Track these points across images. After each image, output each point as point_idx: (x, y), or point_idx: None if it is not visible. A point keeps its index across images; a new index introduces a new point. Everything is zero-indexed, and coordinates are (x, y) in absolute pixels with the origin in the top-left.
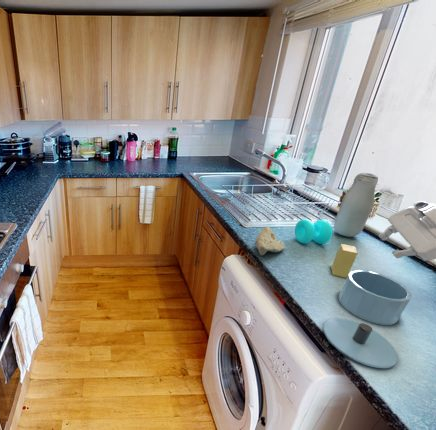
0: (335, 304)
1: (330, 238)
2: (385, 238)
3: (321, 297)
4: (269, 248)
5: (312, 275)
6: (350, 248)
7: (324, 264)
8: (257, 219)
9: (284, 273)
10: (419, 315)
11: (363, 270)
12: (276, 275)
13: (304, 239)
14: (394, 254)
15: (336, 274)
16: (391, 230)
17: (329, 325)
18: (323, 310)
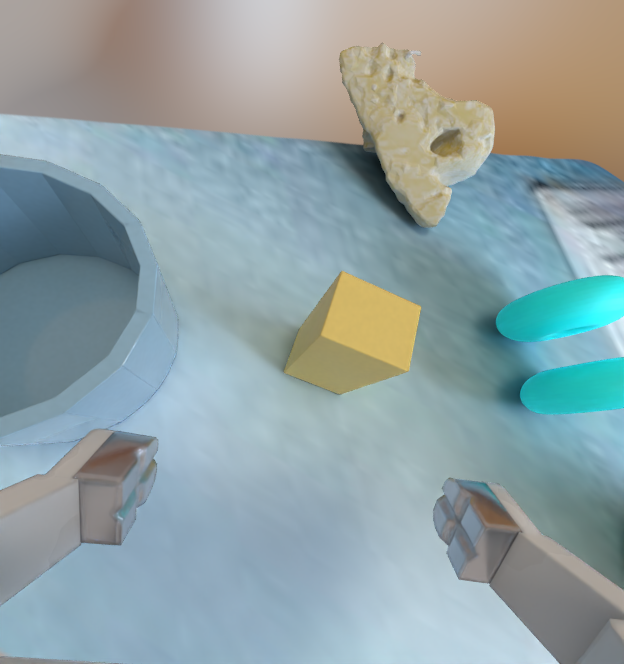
0: None
1: (548, 407)
2: (453, 536)
3: (133, 206)
4: (359, 106)
5: (277, 250)
6: (374, 327)
7: None
8: (607, 253)
9: (271, 167)
10: None
11: (153, 292)
12: (254, 139)
13: (505, 306)
14: (97, 430)
15: (296, 337)
16: (590, 642)
17: None
18: None
